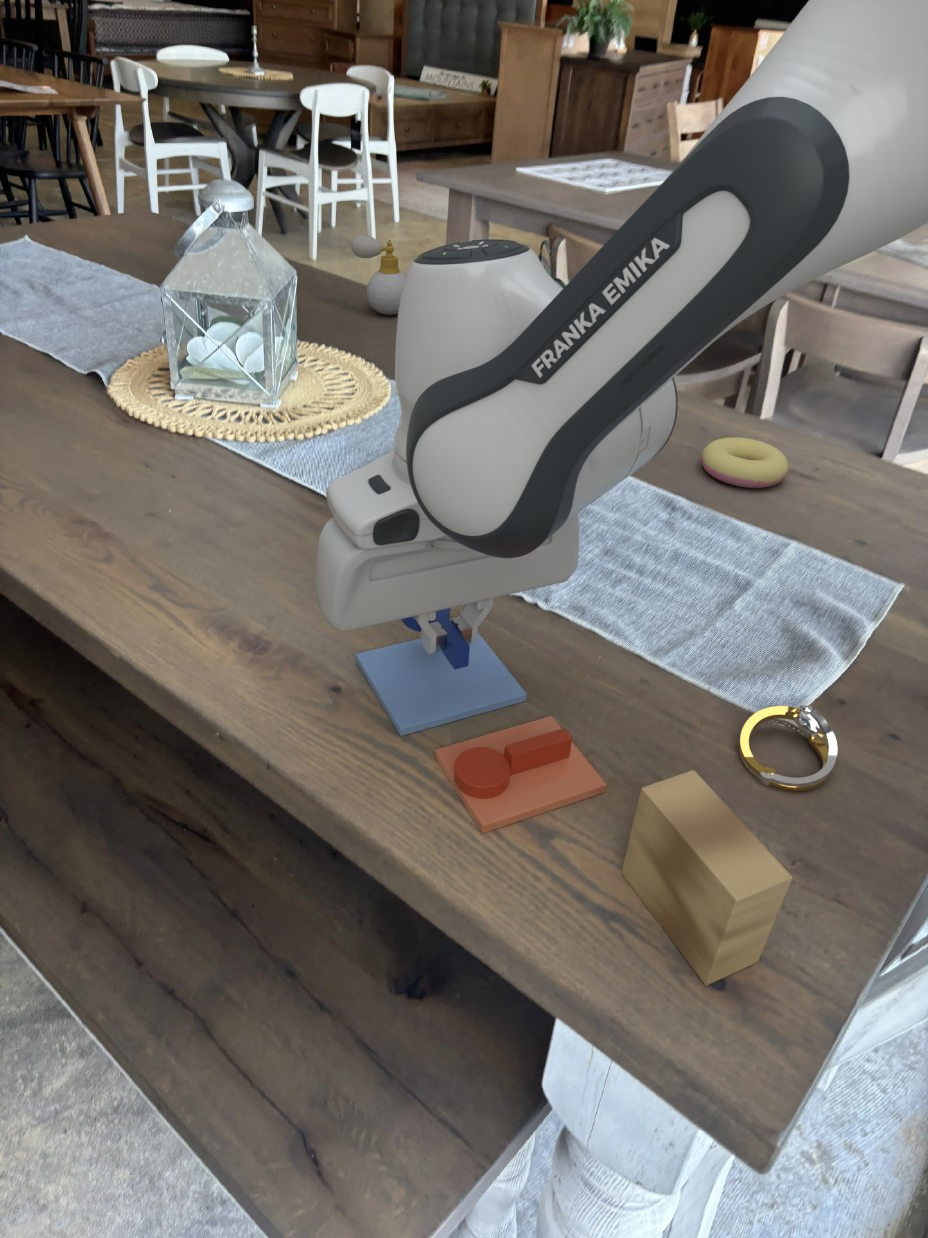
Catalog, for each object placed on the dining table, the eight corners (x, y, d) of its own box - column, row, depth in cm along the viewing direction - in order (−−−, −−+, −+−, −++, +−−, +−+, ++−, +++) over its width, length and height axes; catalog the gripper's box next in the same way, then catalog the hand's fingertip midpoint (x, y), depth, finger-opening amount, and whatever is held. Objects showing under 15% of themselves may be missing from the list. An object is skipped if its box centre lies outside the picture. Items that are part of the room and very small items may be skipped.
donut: (772, 512, 106) (781, 470, 113) (789, 482, 103) (796, 439, 109) (691, 484, 108) (704, 444, 114) (704, 453, 104) (716, 413, 111)
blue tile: (526, 701, 73) (527, 693, 73) (400, 736, 69) (400, 729, 69) (472, 632, 81) (473, 625, 80) (355, 661, 76) (355, 653, 76)
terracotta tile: (605, 792, 66) (607, 784, 65) (482, 834, 62) (482, 826, 61) (550, 723, 71) (551, 715, 71) (434, 757, 68) (434, 749, 67)
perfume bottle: (414, 319, 151) (416, 243, 144) (356, 320, 149) (355, 243, 142) (407, 305, 157) (408, 232, 150) (351, 306, 155) (349, 231, 148)
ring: (805, 817, 66) (850, 749, 70) (813, 790, 64) (859, 722, 68) (718, 771, 70) (767, 709, 74) (723, 744, 68) (773, 682, 72)
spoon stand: (758, 962, 55) (793, 877, 50) (705, 986, 53) (736, 901, 49) (670, 853, 61) (693, 769, 57) (620, 872, 60) (640, 787, 55)
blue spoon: (484, 662, 70) (486, 641, 69) (437, 674, 69) (438, 653, 68) (437, 600, 77) (438, 580, 76) (393, 610, 75) (394, 590, 74)
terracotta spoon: (552, 735, 69) (555, 715, 68) (579, 770, 66) (583, 750, 65) (444, 767, 66) (445, 747, 64) (468, 805, 63) (470, 785, 62)
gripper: (563, 446, 69) (543, 596, 77) (303, 488, 61) (312, 650, 69) (608, 482, 65) (582, 637, 73) (333, 533, 57) (339, 700, 65)
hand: (448, 644), depth 71 cm, fingers closed on blue spoon, 1 cm apart
